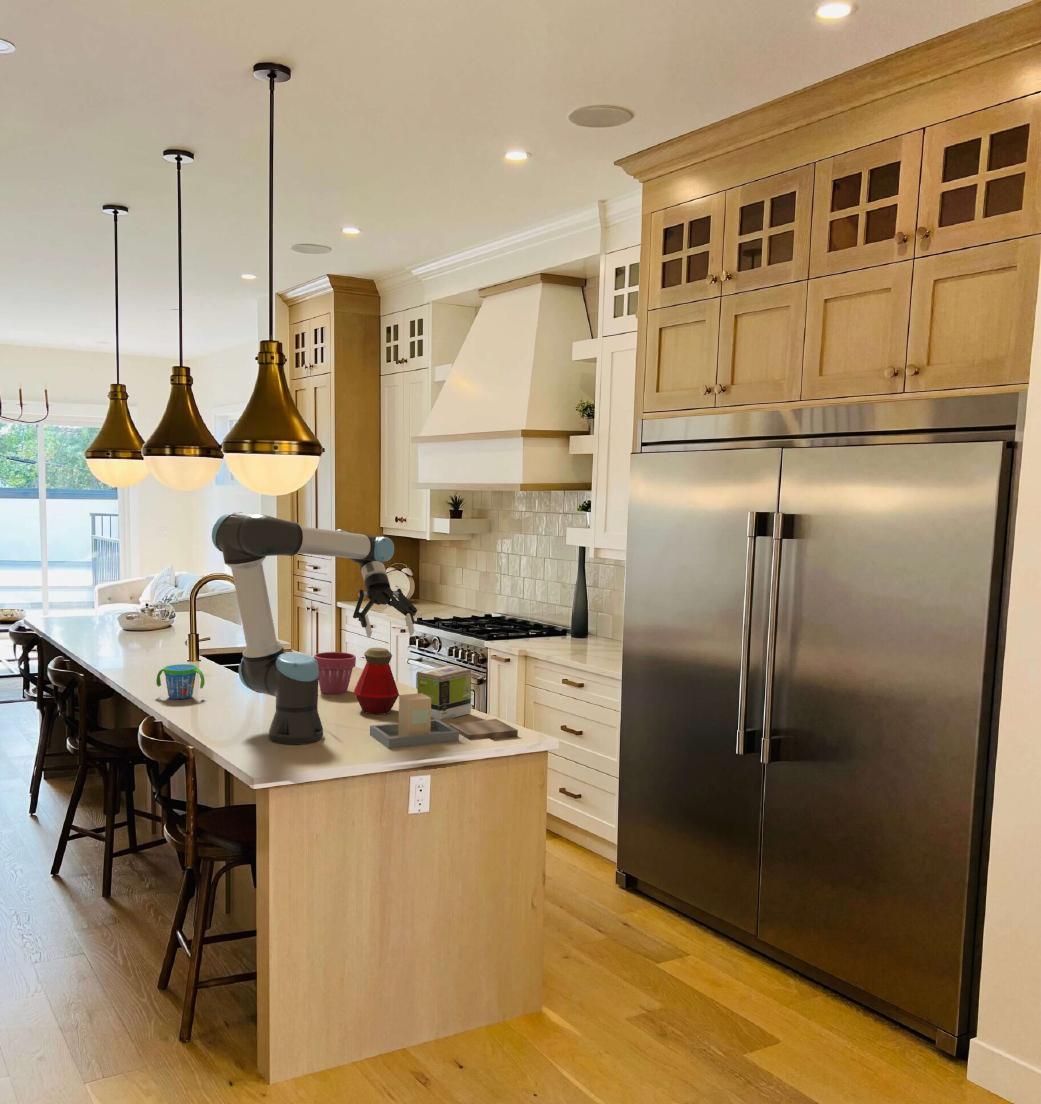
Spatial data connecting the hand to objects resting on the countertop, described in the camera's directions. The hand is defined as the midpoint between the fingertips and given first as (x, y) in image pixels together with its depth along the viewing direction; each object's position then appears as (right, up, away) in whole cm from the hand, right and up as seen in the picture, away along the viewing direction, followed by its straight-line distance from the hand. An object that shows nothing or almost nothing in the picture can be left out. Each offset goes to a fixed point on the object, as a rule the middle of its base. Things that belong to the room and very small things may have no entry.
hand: (391, 634), depth 292 cm
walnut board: (+28, -29, -5) cm, 41 cm away
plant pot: (-26, -24, +43) cm, 55 cm away
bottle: (-7, -26, +18) cm, 33 cm away
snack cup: (-73, -23, +26) cm, 81 cm away
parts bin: (+9, -29, -16) cm, 34 cm away
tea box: (+15, -27, +15) cm, 34 cm away
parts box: (+9, -28, -16) cm, 34 cm away
